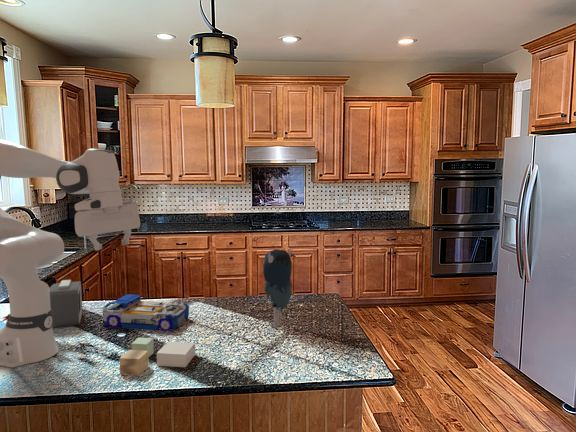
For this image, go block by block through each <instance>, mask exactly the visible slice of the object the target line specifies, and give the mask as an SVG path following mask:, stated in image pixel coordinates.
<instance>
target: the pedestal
mask: <svg viewBox="0 0 576 432" xmlns="http://www.w3.org/2000/svg"><path fill="white" fill-rule="evenodd" d="M195 355H196V343H195V342H186V341H167V342H166V343H165V344H164V345H163V346H162V347H161V348H160V349H159V350H158V351H157V352H156V366H158V367H160V366H161V367H176V368H186V367H187V366H188V365H189V363H190V362H191V361H192V359H193V358H194V357H195Z"/></svg>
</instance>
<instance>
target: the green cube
mask: <svg viewBox="0 0 576 432" xmlns="http://www.w3.org/2000/svg"><path fill="white" fill-rule="evenodd" d="M130 345H131V350H144V351H148V359H149V358H150V357H151V356H152V355H153V354H154V351H155V350H154V348H155V347H154V337H139V336H138V337H137V338H136V339H135V340H133V342H131V343H130Z"/></svg>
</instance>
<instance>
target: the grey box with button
mask: <svg viewBox="0 0 576 432" xmlns="http://www.w3.org/2000/svg"><path fill="white" fill-rule="evenodd" d="M49 288H50V306H51V309H52V314H53V324H52V328H61V327H72V326H79V325H81V321H82V319H83V318H82V317H83V292H82V290H83V289H82V282H81V281H80V280H79V281H72V279H63V280H61V281H60V282H56V283H53V284H51V286H49Z"/></svg>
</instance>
